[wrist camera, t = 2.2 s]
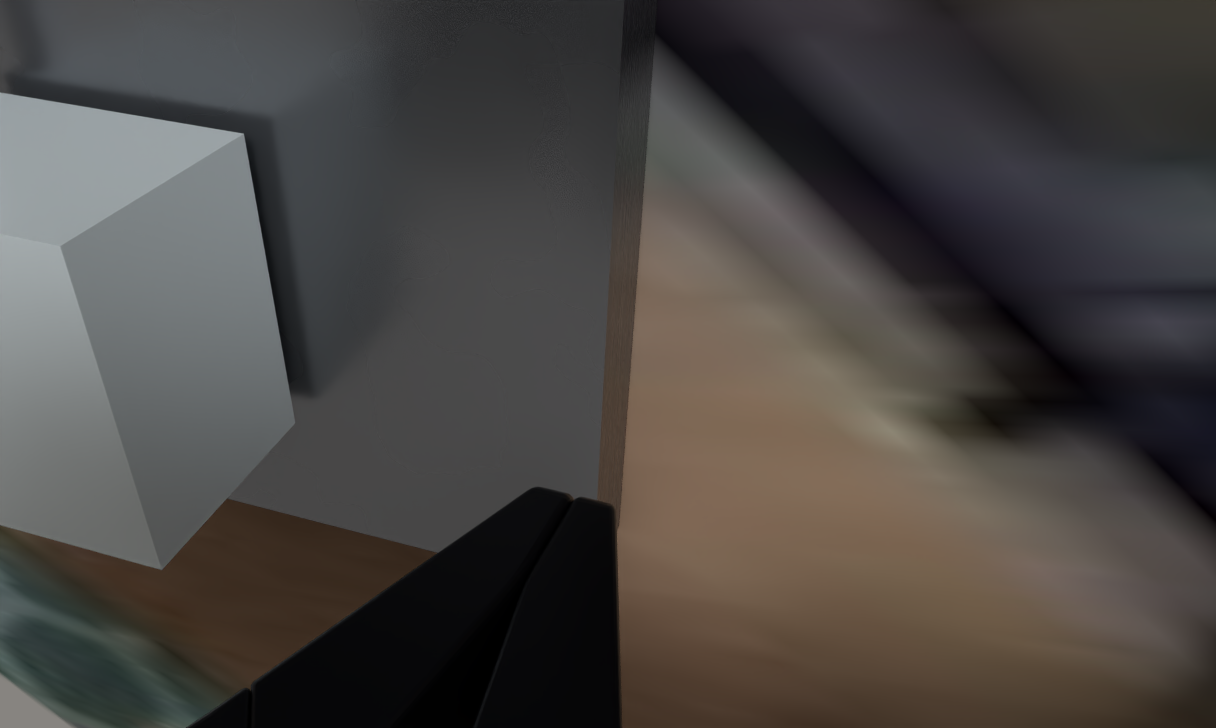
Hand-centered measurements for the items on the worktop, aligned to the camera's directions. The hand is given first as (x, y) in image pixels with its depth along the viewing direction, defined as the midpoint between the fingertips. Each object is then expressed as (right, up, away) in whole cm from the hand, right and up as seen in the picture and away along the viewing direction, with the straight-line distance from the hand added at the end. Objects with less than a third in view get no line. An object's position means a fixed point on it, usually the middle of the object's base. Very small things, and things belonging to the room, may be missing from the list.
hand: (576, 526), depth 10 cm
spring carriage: (-6, +4, +3) cm, 8 cm away
